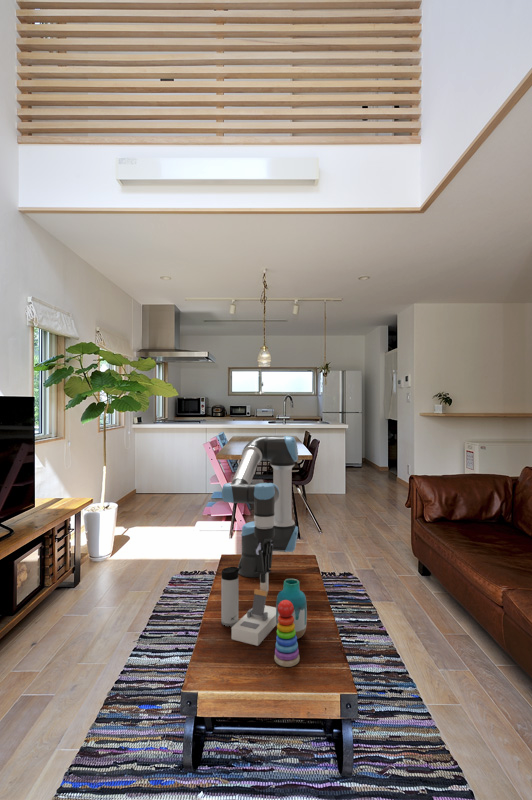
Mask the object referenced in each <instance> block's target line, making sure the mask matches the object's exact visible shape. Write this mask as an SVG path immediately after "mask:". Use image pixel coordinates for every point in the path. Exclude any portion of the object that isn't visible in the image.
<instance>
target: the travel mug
mask: <svg viewBox="0 0 532 800" xmlns="http://www.w3.org/2000/svg"><path fill="white" fill-rule="evenodd" d="M238 571H239V568H238V566H228V567H225V568H223V569H222V570H221V576H220V577H221V578H220V579H221V580H220V581H221V584H220V585H221V594H220V595H221V597H220V598H221V601H220V602H221V603H220V604H221V607H220V608H221V611H220V612H221V615H220V617H221V625H223V626H224V625H225V627H229V626H230V627H233V626H234V625H235V624H236V623H237V622H238V621H239V578H240V577H239V573H238Z"/></svg>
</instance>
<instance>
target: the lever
mask: <svg viewBox="0 0 532 800" xmlns="http://www.w3.org/2000/svg"><path fill="white" fill-rule="evenodd" d="M268 593H269V590H268V591H263V590H260V589H257V588H256V589H255V588H254V590H253V595H254V596H253V600H252V601H253V602H252V608H251V609H252V612H251V616H255V617H259V618H262V615H263V614H264V608H265V605H266V600H267V597H268Z"/></svg>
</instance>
